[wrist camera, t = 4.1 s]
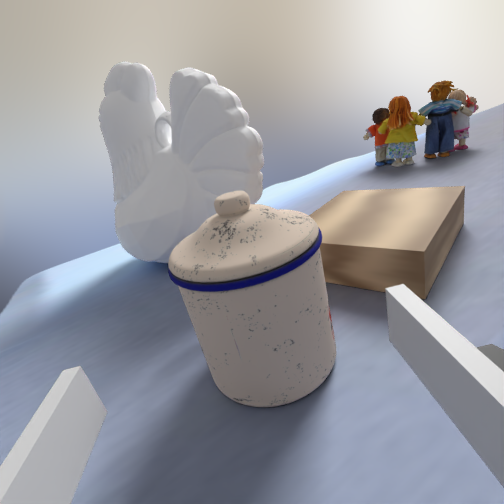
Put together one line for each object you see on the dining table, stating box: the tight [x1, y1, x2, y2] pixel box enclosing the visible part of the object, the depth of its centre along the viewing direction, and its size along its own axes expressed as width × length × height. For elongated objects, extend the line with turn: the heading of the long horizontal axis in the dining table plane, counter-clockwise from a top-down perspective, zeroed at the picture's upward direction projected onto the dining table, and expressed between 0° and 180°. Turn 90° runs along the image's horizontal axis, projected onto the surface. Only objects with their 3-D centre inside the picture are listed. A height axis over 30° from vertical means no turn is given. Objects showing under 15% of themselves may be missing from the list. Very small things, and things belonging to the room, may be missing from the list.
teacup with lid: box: [168, 191, 336, 407], centre depth 21 cm, size 12×9×12 cm
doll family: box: [364, 81, 478, 167], centre depth 59 cm, size 21×10×13 cm, turn 81°
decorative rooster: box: [99, 61, 264, 263], centre depth 38 cm, size 25×16×25 cm, turn 39°
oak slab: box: [309, 186, 465, 299], centre depth 32 cm, size 13×15×4 cm
